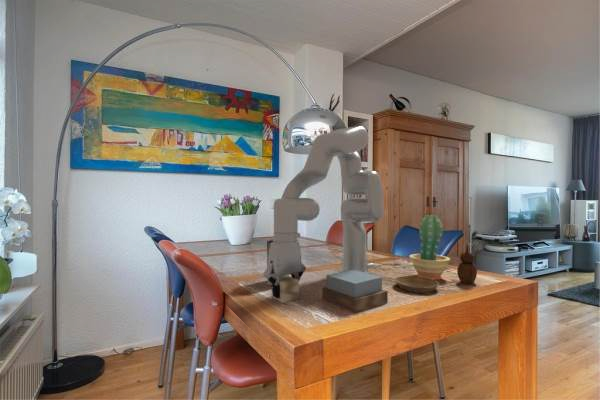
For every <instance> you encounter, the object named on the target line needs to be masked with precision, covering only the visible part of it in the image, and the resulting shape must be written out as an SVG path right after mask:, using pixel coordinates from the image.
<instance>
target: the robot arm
mask: <svg viewBox="0 0 600 400" xmlns="http://www.w3.org/2000/svg"><path fill="white" fill-rule="evenodd" d="M369 139H370V138H369V133H368V131H367V129H366V128H365V127H363V126H360V125H359V126H357V125H356V126H352V127H347V128H346V127H345V128H339V129H335V130H332V131H329V132H326V133H321V134H319V135H318V136H316V137H315V139H314V140H313V143H312V146H311V148H310V151H309V153H308V156H307V158H306V161H305V164H304V166H303V168H302V169H301V170H300V171H299V172H298V173H297V174H296V175H295V176H294V177H293V178H292V179H291V180H290V181H289V182H288V183H287V185H286V187H285V188H284V190H283V193H282V196H281V198H277V199H275V200H274V201H273V239H274V242H272V243H271V246H270V251H269V260H268V268H267V267H266V269H265V270H264V272H263V273H262V275H263V277H264V278H266V280H267V279H268V280H269V281H270V282H271V283H272V285H271V292H272V293H271V295H272V294H273V296H274V297H276V298H280V285H278V284H279V280H280V277H281V276H282V275H288V274H289V275H290V277H292V278H295V279H298V280H299V282H300V281H301V278H302V277H303V275H304V273H305V271H306V270H307V267H306V266H305V264H304V263H303V262H302V252H301V245H300V242H299V241H298V239H299V238H300V237H301V234H300V232H298V231H299V230H298V228H299V227H298V224H299V223H298V221H302V222H310V221H313V220H314V219H317V218H318V216H319V214H320V205H319V203H318V202H317V201H316V200H315V199H314V198H311V197H301V196H302V195H303V193H304V192H305V191H307V189H309V188H311V187H313V186H315V185H317V184H319V183H321V182H322V181H324V180H325V179H326V178H327V176H328V173H329V170H330V167H331V164H332V161H333V159H334V157H336V158H338V160H339V166H340V167H339V168H340V176H341V177H340V178H341V186H342V190H343V192H344V194H346V195H349V196H366V197H350V198H349V197H348V198H347V199H344V200H343V201H342V203H341V205H340V215H341V220H342V235H343V236H342V269H339V272H344V271H349V270H356V271H360V272H364V273H368V274H371V272H370V271H369V269H372V268H374V263H372V262H371V263H369V262H367V230H366V227H365V225H364V224H363V222H364V223H377V222H380V221H381V220H382V219H383V216H384V197H383V196H384V194H383V184H382V183H383V182H382V179H381V176H380V174H379V173H378V172H376V171H374V170H363V167H362V158H361V155H360V154H359V153H358V152H359V151H362V150H364V149H365V148H366V146H367V145H368V143H369ZM339 272H338V273H339ZM270 273H271V274H273V276H271V275H270Z"/></svg>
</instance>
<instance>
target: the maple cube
mask: <svg viewBox="0 0 600 400" xmlns="http://www.w3.org/2000/svg"><path fill="white" fill-rule="evenodd" d="M278 285H280V298H276V297H274V296H273V294H272V293H271V295H272V297H271V298H272V299H274V300H276V301H278V302H280V303H282V304H284V303H288V302H293V301H296V300H299V299H300V298H299V297H300V295H299V293H300V281H299V280H298V279H295V278H292V277H291V275H289V276H285V277H280V280H279V284H278Z"/></svg>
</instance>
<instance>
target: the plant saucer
mask: <svg viewBox="0 0 600 400" xmlns="http://www.w3.org/2000/svg"><path fill="white" fill-rule="evenodd" d="M394 282H395V283H396V285H397V286H398V287H399V288H400V289H402V290H405V291H407V292H413V293H419V294H420V293H421V294H422V293H431V292H433V291H434V290H435V289H437V288H438V287H439V285H440V283H439V281H438V280H432V279H428V278H423V277H418V276H415V275H413V276H410V275H409V276H408V275H407V276H406V275H405V276H398V277H394Z"/></svg>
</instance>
